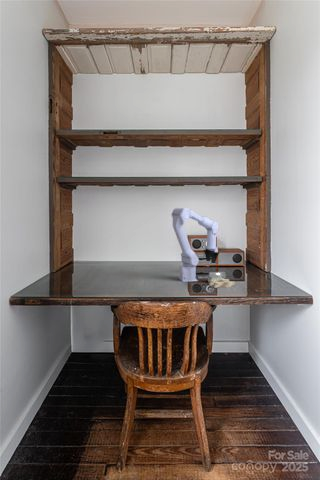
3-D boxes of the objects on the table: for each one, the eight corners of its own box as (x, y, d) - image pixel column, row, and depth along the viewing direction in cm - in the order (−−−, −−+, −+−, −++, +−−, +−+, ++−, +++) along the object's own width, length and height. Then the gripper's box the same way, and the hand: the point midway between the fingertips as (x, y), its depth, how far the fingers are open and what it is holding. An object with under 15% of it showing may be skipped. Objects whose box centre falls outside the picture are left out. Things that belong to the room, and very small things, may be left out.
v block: (211, 283, 179) (211, 279, 179) (207, 281, 183) (208, 277, 183) (224, 282, 181) (224, 278, 181) (220, 281, 186) (220, 276, 185)
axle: (211, 280, 179) (211, 273, 179) (208, 278, 183) (208, 271, 182) (225, 279, 182) (225, 272, 181) (222, 277, 185) (222, 270, 185)
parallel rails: (214, 287, 170) (214, 283, 170) (209, 284, 177) (209, 280, 177) (234, 286, 173) (234, 281, 173) (228, 283, 180) (228, 279, 180)
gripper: (222, 241, 188) (221, 263, 190) (212, 239, 202) (211, 259, 204) (211, 241, 186) (211, 264, 188) (202, 239, 200) (201, 260, 202)
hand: (210, 262), depth 196 cm, fingers open, 7 cm apart
